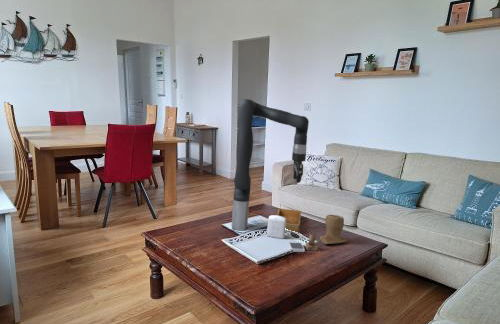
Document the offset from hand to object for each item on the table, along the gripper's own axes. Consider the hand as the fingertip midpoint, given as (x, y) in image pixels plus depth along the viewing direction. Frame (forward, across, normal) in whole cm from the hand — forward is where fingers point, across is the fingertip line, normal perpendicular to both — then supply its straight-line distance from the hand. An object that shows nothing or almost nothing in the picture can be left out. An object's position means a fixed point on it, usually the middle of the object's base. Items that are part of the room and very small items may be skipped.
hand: (296, 180), depth 194 cm
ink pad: (+32, +20, -1) cm, 38 cm away
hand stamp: (+32, +19, +7) cm, 38 cm away
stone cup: (+32, +8, +21) cm, 39 cm away
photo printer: (+32, +4, -10) cm, 34 cm away
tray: (+33, -18, +1) cm, 38 cm away
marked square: (+32, +20, +7) cm, 38 cm away
